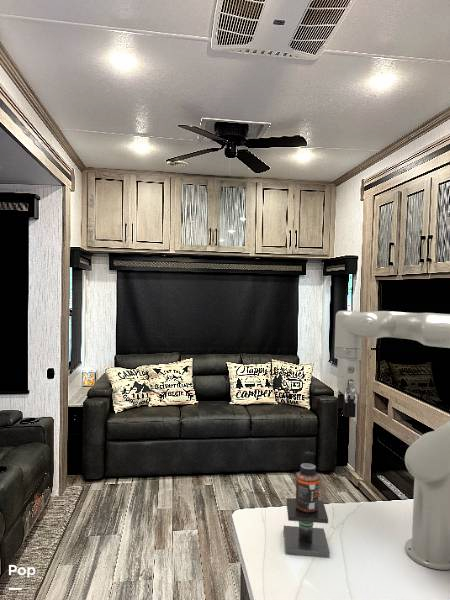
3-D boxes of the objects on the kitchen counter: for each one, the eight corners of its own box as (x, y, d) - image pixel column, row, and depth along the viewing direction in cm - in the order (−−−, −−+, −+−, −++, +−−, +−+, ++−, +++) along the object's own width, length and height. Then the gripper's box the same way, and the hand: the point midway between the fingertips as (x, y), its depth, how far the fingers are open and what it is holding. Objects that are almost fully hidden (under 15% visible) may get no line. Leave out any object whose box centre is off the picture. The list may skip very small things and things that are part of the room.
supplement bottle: (318, 515, 114) (319, 471, 114) (295, 512, 115) (296, 469, 115) (318, 504, 120) (319, 462, 119) (295, 501, 121) (297, 460, 121)
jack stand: (323, 533, 122) (324, 499, 122) (329, 557, 112) (330, 520, 111) (283, 530, 123) (284, 497, 123) (285, 554, 112) (286, 517, 112)
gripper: (368, 358, 119) (366, 421, 119) (354, 349, 136) (352, 404, 137) (340, 357, 120) (338, 420, 120) (329, 348, 137) (328, 403, 137)
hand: (345, 412), depth 128 cm, fingers open, 9 cm apart
